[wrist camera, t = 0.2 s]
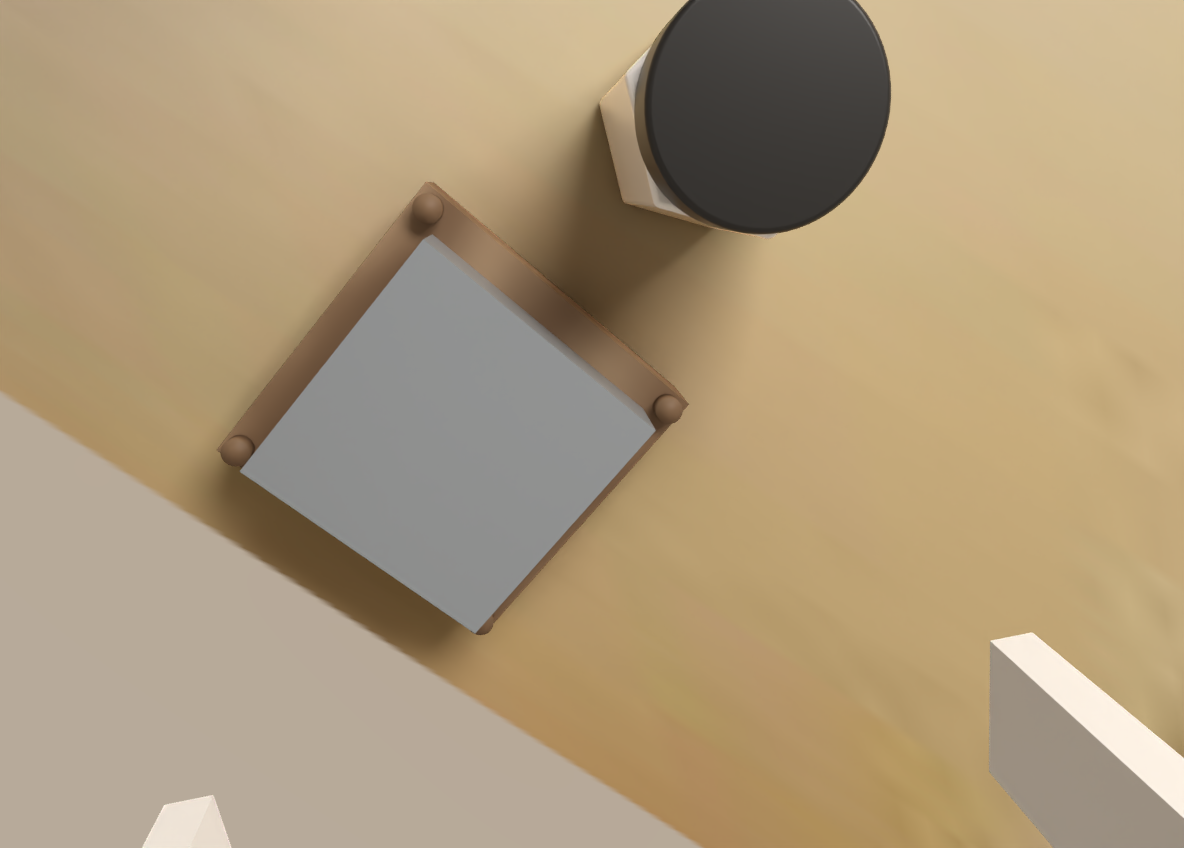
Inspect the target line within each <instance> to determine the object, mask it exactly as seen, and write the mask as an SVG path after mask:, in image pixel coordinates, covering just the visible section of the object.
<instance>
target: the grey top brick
mask: <svg viewBox="0 0 1184 848" xmlns="http://www.w3.org/2000/svg"><path fill="white" fill-rule="evenodd" d="M655 431H656V430H655V428H654V426H653V425H652V423H651V421H650V419H649V418H648V416H647V414H646V413H645V411H644V409H643V408H642V407H641V406H639V405H638V404H637V403H636V402H634V401H633V400H632V399H631V398H630V397H628V396H627V395H626V394H625V393H624V392H622V391H621V390H620V389H619V388H618V387H616V386H615V385H614V384H613V383H612V382H610V381H609V380H608V379H607V378H605V377H604V376H603V375H602V374H601V373H599V372H598V371H597V370H596V369H595V368H593V367H592V366H591V365H590V364H589V363H587V362H586V361H585V360H584V359H583V358H581V357H580V356H579V355H578V354H576V353H575V352H574V351H573V350H572V349H570V348H569V347H568V346H567V345H566V344H564V343H563V342H562V341H561V340H560V339H558V338H557V337H556V336H555V335H554V334H552V333H551V332H550V331H549V330H547V329H546V328H545V327H544V326H543V325H541V324H540V323H539V322H538V321H537V320H535V319H534V318H533V317H532V316H531V315H529V314H528V313H527V312H526V311H525V310H523V309H522V308H521V307H520V306H518V305H517V304H516V303H515V302H514V301H512V300H511V299H510V298H509V297H508V296H506V295H505V294H504V293H503V292H502V291H500V290H499V289H498V288H497V287H496V286H494V285H493V284H492V283H491V282H489V281H488V280H487V279H486V278H485V277H483V276H482V275H481V274H480V273H479V272H477V271H476V270H475V269H474V268H473V267H471V266H470V265H469V264H468V263H467V262H465V261H464V260H463V259H462V258H460V257H459V256H458V255H457V254H456V253H454V252H453V251H452V250H451V249H450V248H448V247H447V246H446V245H445V244H444V243H442V242H441V241H440V240H439V239H438V238H436V237H435V236H434V235H433V234H432V235H430V236H428V237H426V238H425V239H423V240H422V242H421V243H420V244H419V245H418V247H417V248H416V249H415V250H414V252H413V253H412V254H411V255H410V257H409V258H408V259H407V260H406V262H405V263H404V264H403V266H402V267H401V268H400V269H399V271H398V272H397V273H396V274H395V276H394V277H393V278H392V279H391V281H390V282H389V283H388V284H387V286H386V287H385V288H384V290H383V291H382V292H381V293H380V295H379V296H378V297H377V298H376V300H375V301H374V302H373V303H372V305H371V306H370V307H369V308H368V310H367V311H366V312H365V314H364V315H363V316H362V317H361V319H360V320H359V321H358V322H357V324H356V325H355V326H354V327H353V329H352V330H351V331H350V333H349V334H348V335H347V336H346V338H345V339H344V340H343V341H342V343H341V344H340V345H339V346H338V348H337V349H336V350H335V351H334V353H333V354H332V355H331V357H330V358H329V359H328V360H327V362H326V363H325V364H324V365H323V367H322V368H321V369H320V370H319V372H318V373H317V374H316V375H315V377H314V378H313V379H312V381H311V382H310V383H309V384H308V386H307V387H306V388H305V389H304V391H303V392H302V393H301V394H300V396H299V397H298V398H297V399H296V401H295V402H294V403H293V405H292V406H291V407H290V408H289V410H288V411H287V412H286V413H285V415H284V416H283V417H282V418H281V420H280V421H279V422H278V423H277V425H276V426H275V427H274V429H273V430H272V431H271V432H270V434H269V435H268V436H267V437H266V439H265V440H264V441H263V442H262V444H261V445H260V446H259V448H258V449H257V450H256V451H255V453H254V454H253V455H252V456H251V458H250V459H249V460H248V461H247V463H246V464H245V465H244V466H243V468H242V469H241V470H240V472H241V473H242V474H244V475H245V476H247V477H248V478H250V479H251V480H252V481H254V482H255V483H257V484H258V485H260V486H261V487H263V488H264V489H266V490H267V491H268V492H270V493H271V494H273V495H274V496H276V497H277V498H279V499H280V500H282V501H283V502H284V503H286V504H287V505H289V506H290V507H292V508H293V509H295V510H296V511H298V512H299V513H300V514H302V515H303V516H305V517H306V518H308V519H309V520H311V521H312V522H314V523H315V524H316V525H318V526H319V527H321V528H322V529H324V530H325V531H327V532H328V533H329V534H331V535H332V536H334V537H335V538H337V539H338V540H340V541H341V542H343V543H344V544H345V545H347V546H348V547H350V548H351V549H353V550H354V551H356V552H357V553H359V554H360V555H361V556H363V557H364V558H366V559H367V560H369V561H370V562H372V563H373V564H375V565H376V566H377V567H379V568H380V569H382V570H383V571H385V572H386V573H388V574H389V575H391V576H392V577H393V578H395V579H396V580H398V581H399V582H401V583H402V584H404V585H405V586H407V587H408V588H409V589H411V590H412V591H414V592H415V593H417V594H418V595H420V596H421V597H423V598H424V599H425V600H427V601H428V602H430V603H431V604H433V605H434V606H436V607H437V608H439V609H440V610H441V611H443V612H444V613H446V614H447V615H449V616H450V617H452V618H453V619H455V620H456V621H457V622H459V623H460V624H462V625H463V626H465V627H466V628H468V629H469V630H471V631H472V632H473V633H476V632H477V631H478V630H479V629H480V628H481V626H482V625H483V624H484V623H485V622H486V621H487V620H488V619H489V617H490V616H491V615H492V614H493V613H494V612H495V611H496V610H497V609H498V607H499V606H500V605H501V604H502V603H503V602H504V601H505V600H506V598H507V597H508V596H509V595H510V594H511V593H512V592H513V591H514V589H515V588H516V587H517V586H518V585H519V584H520V583H521V582H522V580H523V579H524V578H525V577H526V576H527V575H528V574H529V573H530V571H531V570H532V569H533V568H534V567H535V566H536V565H537V564H538V562H539V561H540V560H541V559H542V558H543V557H544V556H545V555H546V553H547V552H548V551H549V550H550V549H551V548H552V547H553V546H554V544H555V543H556V542H557V541H558V540H559V539H560V538H561V537H562V535H563V534H564V533H565V532H566V531H567V530H568V529H569V528H570V526H571V525H572V524H573V523H574V522H575V521H576V520H577V519H578V517H579V516H580V515H581V514H582V513H583V512H584V511H585V510H586V508H587V507H588V506H589V505H590V504H591V503H592V502H593V501H594V499H595V498H596V497H597V496H598V495H599V494H600V493H601V492H602V490H603V489H604V488H605V487H606V486H607V485H608V484H609V483H610V481H611V480H612V479H613V478H614V477H615V476H616V475H617V474H618V472H619V471H620V470H621V469H622V468H623V467H624V466H625V465H626V463H627V462H628V461H629V460H630V459H631V458H632V457H633V456H634V454H635V453H636V452H637V451H638V450H639V449H640V448H641V447H642V446H643V444H644V443H645V442H646V441H647V440H648V439H649V438H650V437H651V435H652V434H653V433H654V432H655Z"/></svg>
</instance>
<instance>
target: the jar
mask: <svg viewBox="0 0 1184 848" xmlns="http://www.w3.org/2000/svg"><path fill="white" fill-rule="evenodd" d="M890 103H891V81H890V71H889V66H888V61H887V57H886V53H885V50H884V46H883V44H882V41H881V39H880V36H879V34H878V32H877V30H876V28H875V26H874V24H873V22H872V21H871V19H870V18H869V16H868V15H867V13H866V12H865V11H864V9H863V8H862V7H861V6H860V4H859V3H858V2H857V1H856V0H689V1H688V2H686V3H685V5H684V6H683V7H682V8H681V9H680V10H679V11H678V12H677V13H676V14H675V16H674V17H673V18H672V19H671V20H670V21H669V22H668V23H667V24H666V26H665V27H664V28H663V29H662V31H661V32H660V33H659V35H658V36H657V38H656V39H655V41H654V43H653V44H652V45H651V46H650V47H649V48H648V49H647V51H646V52H645V53H644V54H643V55H642V56H641V57H640V58H639V59H638V60H637V61H636V62H635V63H634V64H633V65H632V66H631V67H630V68H629V70H628V71H627V72H626V73H625V74H624V75H623V76H622V77H621V78H620V79H619V80H618V81H617V82H616V84H615V85H614V86H613V87H612V88H611V89H610V90H609V91H608V92H607V93H606V94H605V95H604V96H603V98H602V99H601V100H600V109H601V113H602V117H603V122H604V126H605V130H606V134H607V138H608V142H609V146H610V151H611V155H612V159H613V163H614V167H615V171H616V175H617V180H618V184H619V188H620V192H621V196H622V200H623V202H624V203H626V204H629V205H632V206H636V207H639V208H643V209H646V210H650V211H653V212H657V213H660V214H664V215H667V216H671V217H674V218H678V219H681V220H685V221H688V222H692V223H695V224H699V225H702V226H706V227H709V228H714V229H719V230H724V231H729V232H734V233H739V234H744V235H749V236H754V237H760V238H765V239H771V238H773V237H775V236H776V235H777V234H778V233H781V232H787V231H790V230H794V229H797V228H800V227H803V226H805V225H807V224H810V223H812V222H814V221H816V220H818V219H819V218H821V217H823V216H825V215H826V214H828V213H829V212H830V211H832V210H833V209H835V208H836V207H837V206H838V205H840V204H841V203H842V202H843V201H844V200H845V199H846V198H847V197H848V196H849V195H850V194H851V193H852V192H853V191H854V190H855V189H856V187H857V186H858V185H859V184H860V183H861V181H862V180H863V178H864V177H865V176H866V174H867V173H868V171H869V169H870V168H871V166H872V164H873V162H874V161H875V158H876V156H877V154H878V152H879V150H880V147H881V144H882V142H883V139H884V136H885V132H886V128H887V124H888V119H889V113H890Z"/></svg>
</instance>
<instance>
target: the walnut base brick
mask: <svg viewBox="0 0 1184 848" xmlns="http://www.w3.org/2000/svg"><path fill="white" fill-rule="evenodd" d="M432 234H433V235H434V236H435V237H436V238H438V239H439V240H440V241H441V242H442V243H444V244H445V245H446V246H447V247H448V248H450V249H451V250H452V251H453V252H454V253H456V254H457V255H458V256H459V257H460V258H462V259H463V260H464V261H465V262H467V263H468V264H469V265H470V266H471V267H473V268H474V269H475V270H476V271H477V272H479V273H480V274H481V275H482V276H483V277H485V278H486V279H487V280H488V281H489V282H491V283H492V284H493V285H494V286H496V287H497V288H498V289H499V290H500V291H502V292H503V293H504V294H505V295H506V296H508V297H509V298H510V299H511V300H512V301H514V302H515V303H516V304H517V305H518V306H520V307H521V308H522V309H523V310H525V311H526V312H527V313H528V314H529V315H531V316H532V317H533V318H534V319H535V320H537V321H538V322H539V323H540V324H541V325H543V326H544V327H545V328H546V329H547V330H549V331H550V332H551V333H552V334H554V335H555V336H556V337H557V338H558V339H560V340H561V341H562V342H563V343H564V344H566V345H567V346H568V347H569V348H570V349H572V350H573V351H574V352H575V353H576V354H578V355H579V356H580V357H581V358H583V359H584V360H585V361H586V362H587V363H589V364H590V365H591V366H592V367H593V368H595V369H596V370H597V371H598V372H599V373H601V374H602V375H603V376H604V377H605V378H607V379H608V380H609V381H610V382H612V383H613V384H614V385H615V386H616V387H618V388H619V389H620V390H621V391H622V392H624V393H625V394H626V395H627V396H628V397H630V398H631V399H632V400H633V401H634V402H636V403H637V404H638V405H639V406H641V407H642V408H643V409H644V411H645V413H646V414H647V416H648V418H649V419H650V421H651V423H652V425H653V426H654V428H655V430H656V431H655V432H654V433H653V434H652V435H651V437H650V438H649V439H648V440H647V441H646V442H645V443H644V444H643V446H642V447H641V448H640V449H639V450H638V451H637V452H636V453H635V454H634V456H633V457H632V458H631V459H630V460H629V461H628V462H627V463H626V465H625V466H624V467H623V468H622V469H621V470H620V471H619V472H618V474H617V475H616V476H615V477H614V478H613V479H612V480H611V481H610V483H609V484H608V485H607V486H606V487H605V488H604V489H603V490H602V492H601V493H600V494H599V495H598V496H597V497H596V498H595V499H594V501H593V502H592V503H591V504H590V505H589V506H588V507H587V508H586V510H585V511H584V512H583V513H582V514H581V515H580V516H579V517H578V519H577V520H576V521H575V522H574V523H573V524H572V525H571V526H570V528H569V529H568V530H567V531H566V532H565V533H564V534H563V535H562V537H561V538H560V539H559V540H558V541H557V542H556V543H555V544H554V546H553V547H552V548H551V549H550V550H549V551H548V552H547V553H546V555H545V556H544V557H543V558H542V559H541V560H540V561H539V562H538V564H537V565H536V566H535V567H534V568H533V569H532V570H531V571H530V573H529V574H528V575H527V576H526V577H525V578H524V579H523V580H522V582H521V583H520V584H519V585H518V586H517V587H516V588H515V589H514V591H513V592H512V593H511V594H510V595H509V596H508V597H507V598H506V600H505V601H504V602H503V603H502V604H501V605H500V606H499V607H498V609H497V610H496V611H495V612H494V613H493V614H492V615H491V616H490V617H489V619H488V620H487V621H486V622H485V623H484V624H483V625H482V626H481V628H480V629H479V630H478V631H477V632H476V633H474V634H477V635H483V634H486V633H488V632H489V631H490V630H491V629H492V627H493V623H494V622H495V621H496V620H497V619H498V618H499V617H500V616H501V614H502V613H503V612H504V611H505V610H506V609H507V608H508V607H509V606H510V604H511V603H512V602H513V601H514V600H515V599H516V598H517V597H518V595H519V594H520V593H521V592H522V591H523V590H524V589H525V588H526V586H527V585H528V584H529V583H530V582H531V581H532V580H533V579H534V577H535V576H536V575H537V574H538V573H539V572H540V571H541V570H542V569H543V567H544V566H545V565H546V564H547V563H548V562H549V561H550V560H551V558H552V557H553V556H554V555H555V554H556V553H557V552H558V551H559V549H560V548H561V547H562V546H563V545H564V544H565V543H566V542H567V540H568V539H569V538H570V537H571V536H572V535H573V534H574V533H575V532H576V530H577V529H578V528H579V527H580V526H581V525H582V524H583V523H584V521H585V520H586V519H587V518H588V517H589V516H590V515H591V514H592V512H593V511H594V510H595V509H596V508H597V507H598V506H599V505H600V503H601V502H602V501H603V500H604V499H605V498H606V497H607V496H608V495H609V493H610V492H611V491H612V490H613V489H614V488H615V487H616V486H617V484H618V483H619V482H620V481H621V480H622V479H623V478H624V477H625V475H626V474H627V473H628V472H629V471H630V470H631V469H632V468H633V466H634V465H635V464H636V463H637V462H638V461H639V460H640V459H641V458H642V456H643V455H644V454H645V453H646V452H647V451H648V450H649V449H650V447H651V446H652V445H653V444H654V443H655V442H656V441H657V440H658V438H659V437H660V436H661V435H662V434H663V433H664V432H665V431H666V430H667V428H668V427H669V426H670V425H671V424H672V423H675V422H676V421H678V420H679V419H680V417H681V415H682V412H683V410H684V409H685V408H686V407H687V406H688V405H689V404H688V403H687V401H686V400H685V399H684V398H683V396H682V395H681V394H680V393H679V391H678V390H677V389H676V388H675V387H674V386H673V385H672V384H671V383H670V382H669V381H667V380H666V379H665V378H664V377H663V376H661V375H660V374H659V373H658V372H657V371H656V370H654V369H653V368H652V367H651V366H650V365H648V364H647V363H646V362H645V361H644V360H643V359H641V358H640V357H639V356H638V355H637V354H636V353H634V352H633V351H632V350H631V349H630V348H628V347H627V346H626V345H625V344H624V343H623V342H621V341H620V340H619V339H618V338H617V337H615V336H614V335H613V334H612V333H611V332H610V331H608V330H607V329H606V328H605V327H604V326H602V325H601V324H600V323H599V322H598V321H597V320H595V319H594V318H593V317H592V316H591V315H590V314H588V313H587V312H586V311H585V310H584V309H582V308H581V307H580V306H579V305H578V304H577V303H575V302H574V301H573V300H572V299H571V298H569V297H568V296H567V295H566V294H565V293H564V292H562V291H561V290H560V289H559V288H558V287H556V286H555V285H554V284H553V283H552V282H551V281H549V280H548V279H547V278H546V277H545V276H543V275H542V274H541V273H540V272H539V271H538V270H536V269H535V268H534V267H533V266H532V265H531V264H529V263H528V262H527V261H526V260H525V259H523V258H522V257H521V256H520V255H519V254H518V253H516V252H515V251H514V250H513V249H512V248H510V247H509V246H508V245H507V244H506V243H505V242H503V241H502V240H501V239H500V238H499V237H497V236H496V235H495V234H494V233H493V232H492V231H490V230H489V229H488V228H487V227H486V226H485V225H483V224H482V223H481V222H480V221H479V220H477V219H476V218H475V217H474V216H473V215H472V214H470V213H469V212H468V211H467V210H466V209H464V208H463V207H462V206H461V205H460V204H459V203H457V202H456V201H455V200H454V199H453V198H451V197H450V196H449V195H448V194H447V193H446V192H444V191H443V190H442V189H441V188H440V187H438V186H437V185H436V184H435V183H432V182H425V184H424V185H423V186H422V187H421V189H420V190H419V191H418V193H417V194H416V195H415V196H414V198H413V199H412V200H411V202H410V203H409V204H408V205H407V207H406V208H405V209H404V211H403V212H402V213H401V214H400V216H399V217H398V218H397V219H396V221H395V222H394V223H393V225H392V226H391V227H390V228H389V230H388V231H387V232H386V234H385V235H384V236H383V237H382V239H381V240H380V241H379V243H378V244H377V245H376V246H375V248H374V249H373V250H372V251H371V253H370V254H369V255H368V257H367V258H366V259H365V260H364V262H363V263H362V264H361V266H360V267H359V268H358V269H357V271H356V272H355V273H354V275H353V276H352V277H351V278H350V280H349V281H348V282H347V284H346V285H345V286H344V287H343V289H342V290H341V291H340V292H339V294H338V295H337V296H336V298H335V299H334V300H333V301H332V303H331V304H330V305H329V307H328V308H327V309H326V310H325V312H324V313H323V314H322V316H321V317H320V318H319V319H318V321H317V322H316V323H315V324H314V326H313V327H312V328H311V330H310V331H309V332H308V333H307V335H306V336H305V337H304V339H303V340H302V341H301V342H300V344H299V345H298V346H297V348H296V349H295V350H294V351H293V353H292V354H291V355H290V356H289V358H288V359H287V360H286V362H285V363H284V364H283V365H282V367H281V368H280V369H279V371H278V372H277V373H276V374H275V376H274V377H273V378H272V380H271V381H270V382H269V383H268V385H267V386H266V387H265V389H264V390H263V391H262V392H261V394H260V395H259V396H258V397H257V399H256V400H255V401H254V403H253V404H252V405H251V406H250V408H249V409H248V410H247V412H246V413H245V414H244V415H243V417H242V418H241V419H240V421H239V422H238V423H237V424H236V426H235V427H234V428H233V429H232V431H231V432H230V433H229V435H228V436H227V437H226V438H225V440H224V441H223V442H222V444H221V445H220V446H219V447H218V449H217V451H218V452H220V453H221V457H222V459H223V460H224V462H225V463H227V464H228V465H231V466H240V467H242V468H243V466H244V465H245V464H246V463H247V461H248V460H249V459H250V458H251V456H252V455H253V454H254V453H255V451H256V450H257V449H258V448H259V446H260V445H261V444H262V442H263V441H264V440H265V439H266V437H267V436H268V435H269V434H270V432H271V431H272V430H273V429H274V427H275V426H276V425H277V423H278V422H279V421H280V420H281V418H282V417H283V416H284V415H285V413H286V412H287V411H288V410H289V408H290V407H291V406H292V405H293V403H294V402H295V401H296V399H297V398H298V397H299V396H300V394H301V393H302V392H303V391H304V389H305V388H306V387H307V386H308V384H309V383H310V382H311V381H312V379H313V378H314V377H315V375H316V374H317V373H318V372H319V370H320V369H321V368H322V367H323V365H324V364H325V363H326V362H327V360H328V359H329V358H330V357H331V355H332V354H333V353H334V351H335V350H336V349H337V348H338V346H339V345H340V344H341V343H342V341H343V340H344V339H345V338H346V336H347V335H348V334H349V333H350V331H351V330H352V329H353V327H354V326H355V325H356V324H357V322H358V321H359V320H360V319H361V317H362V316H363V315H364V314H365V312H366V311H367V310H368V308H369V307H370V306H371V305H372V303H373V302H374V301H375V300H376V298H377V297H378V296H379V295H380V293H381V292H382V291H383V290H384V288H385V287H386V286H387V284H388V283H389V282H390V281H391V279H392V278H393V277H394V276H395V274H396V273H397V272H398V271H399V269H400V268H401V267H402V266H403V264H404V263H405V262H406V260H407V259H408V258H409V257H410V255H411V254H412V253H413V252H414V250H415V249H416V248H417V247H418V245H419V244H420V243H421V242H422V240H423V239H425V238H426V237H428V236H430V235H432ZM470 631H471V630H470ZM471 632H472V631H471Z"/></svg>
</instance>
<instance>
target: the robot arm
mask: <svg viewBox="0 0 1184 848" xmlns="http://www.w3.org/2000/svg"><path fill="white" fill-rule="evenodd" d="M989 772H990V773H991V775H992V776H993V777H994V778H995V779H996V780H997V782H998V783H999V784H1000V785H1001V786H1002V788H1003V789H1004V790H1005V791H1006V792H1007V793H1008V795H1009V796H1010V797H1011V798H1012V799H1013V801H1014V802H1015V803H1016V804H1017V805H1018V806H1019V808H1020V809H1021V810H1022V811H1023V812H1024V814H1025V815H1026V816H1027V817H1028V818H1029V819H1030V821H1031V822H1032V823H1033V824H1034V825H1035V826H1036V828H1037V829H1038V830H1039V831H1040V832H1041V834H1042V835H1043V836H1044V837H1045V838H1046V839H1047V841H1048V842H1049V843H1050V844H1051V845H1052V847H1053V848H1184V758H1183V757H1182V756H1181V755H1179V754H1178V753H1177V752H1176V751H1175V750H1173V749H1172V748H1171V747H1170V746H1168V745H1167V744H1166V743H1165V742H1164V741H1162V740H1161V739H1160V738H1159V737H1158V736H1156V735H1155V734H1154V733H1153V732H1152V731H1150V730H1149V729H1148V728H1147V727H1146V726H1144V725H1143V724H1142V723H1141V722H1140V721H1138V720H1137V719H1136V718H1135V717H1134V716H1132V715H1131V714H1130V713H1129V712H1127V711H1126V710H1125V709H1124V708H1123V707H1121V706H1120V705H1119V704H1118V703H1117V702H1115V701H1114V700H1113V699H1112V698H1111V697H1109V696H1108V695H1107V694H1106V693H1105V692H1103V691H1102V690H1101V689H1100V688H1099V687H1097V686H1096V685H1095V684H1094V683H1093V682H1091V681H1090V680H1089V679H1088V678H1087V677H1085V676H1084V675H1083V674H1082V673H1080V672H1079V671H1078V670H1077V669H1076V668H1074V667H1073V666H1072V665H1071V664H1070V663H1068V662H1067V661H1066V660H1065V659H1064V658H1062V657H1061V656H1060V655H1059V654H1058V653H1056V652H1055V651H1054V650H1053V649H1052V648H1050V647H1049V646H1048V645H1047V644H1046V643H1044V642H1043V641H1042V640H1041V639H1039V638H1038V637H1037V636H1036V635H1035V634H1033V633H1027V634H1022V635H1017V636H1012V637H1007V638H1002V639H997V640H992V641H990V723H989ZM142 848H231V845H230V842H229V839H228V836H227V833H226V830H225V827H224V824H223V822H222V818H221V816H220V813H219V810H218V807H217V804H216V801H215V798H214V795H211V796H206V797H201V798H196V799H191V800H186V801H181V802H176V803H171V804H166V805H164V807H163V809H162V811H161V812H160V814H159V816H158V818H157V820H156V822H155V824H154V826H153V828H152V830H151V831H150V833H149V835H148V837H147V839H146V841H145V843H144V845H143V847H142Z"/></svg>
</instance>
